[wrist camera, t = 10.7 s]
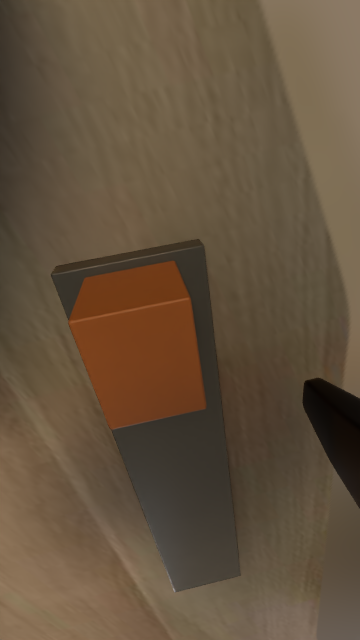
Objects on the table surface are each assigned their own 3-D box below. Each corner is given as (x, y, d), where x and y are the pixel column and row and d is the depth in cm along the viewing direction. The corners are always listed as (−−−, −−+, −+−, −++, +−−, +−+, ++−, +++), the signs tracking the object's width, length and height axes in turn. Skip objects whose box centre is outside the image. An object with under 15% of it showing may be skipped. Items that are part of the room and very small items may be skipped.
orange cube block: (83, 277, 12) (66, 322, 8) (174, 259, 12) (191, 297, 9) (114, 369, 14) (109, 431, 11) (190, 353, 14) (207, 409, 11)
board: (55, 266, 12) (49, 274, 11) (199, 238, 12) (204, 245, 12) (173, 578, 27) (174, 592, 26) (237, 562, 27) (240, 575, 27)
